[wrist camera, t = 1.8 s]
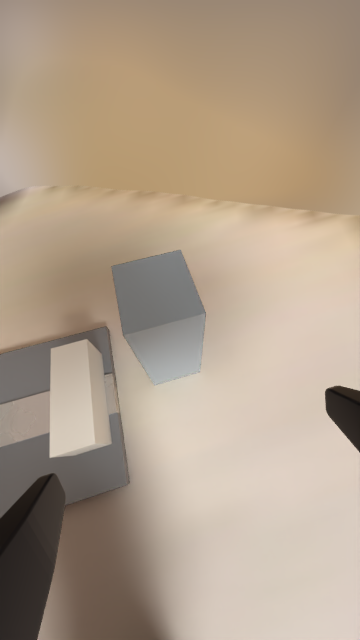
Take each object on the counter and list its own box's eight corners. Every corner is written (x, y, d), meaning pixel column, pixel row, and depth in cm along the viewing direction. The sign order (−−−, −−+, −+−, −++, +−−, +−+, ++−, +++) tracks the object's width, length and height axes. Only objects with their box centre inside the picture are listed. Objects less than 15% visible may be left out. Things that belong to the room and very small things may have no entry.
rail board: (129, 483, 17) (111, 494, 14) (-76, 551, 16) (-162, 585, 12) (108, 330, 24) (92, 308, 20) (-37, 368, 23) (-84, 352, 19)
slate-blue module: (199, 372, 22) (205, 313, 12) (154, 385, 21) (123, 335, 12) (185, 328, 24) (180, 249, 14) (144, 339, 24) (111, 266, 14)
